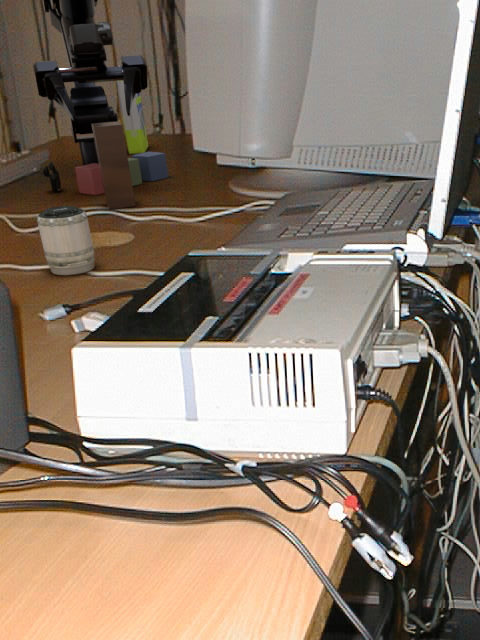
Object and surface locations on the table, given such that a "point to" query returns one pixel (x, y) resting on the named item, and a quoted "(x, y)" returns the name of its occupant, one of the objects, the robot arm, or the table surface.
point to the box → (133, 122)
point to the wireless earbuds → (53, 177)
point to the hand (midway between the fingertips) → (101, 116)
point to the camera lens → (66, 240)
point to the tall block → (113, 164)
